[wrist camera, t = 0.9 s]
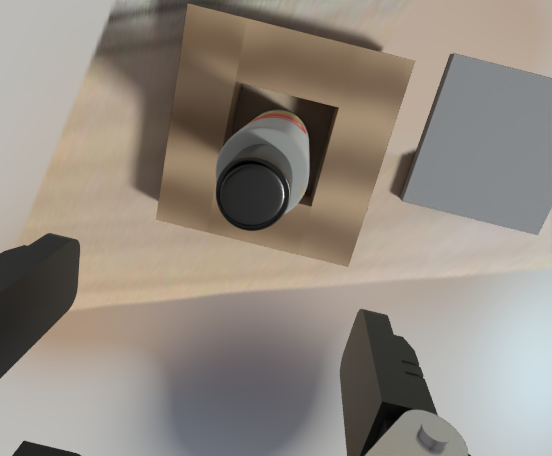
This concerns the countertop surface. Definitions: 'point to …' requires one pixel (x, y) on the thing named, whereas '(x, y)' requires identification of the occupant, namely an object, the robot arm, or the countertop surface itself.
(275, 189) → the lotion bottle
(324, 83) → the block
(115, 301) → the countertop surface
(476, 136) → the rubber mat
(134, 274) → the countertop surface
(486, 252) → the countertop surface
